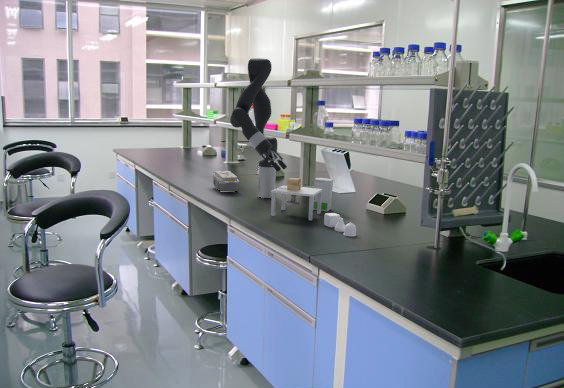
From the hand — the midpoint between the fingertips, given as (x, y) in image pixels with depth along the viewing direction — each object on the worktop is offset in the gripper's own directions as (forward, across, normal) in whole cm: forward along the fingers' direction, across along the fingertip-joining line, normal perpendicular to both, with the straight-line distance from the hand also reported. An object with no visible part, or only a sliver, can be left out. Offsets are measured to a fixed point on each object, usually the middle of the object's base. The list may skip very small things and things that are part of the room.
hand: (282, 169), depth 238 cm
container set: (+39, -19, -8) cm, 44 cm away
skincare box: (+26, +17, +4) cm, 31 cm away
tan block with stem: (+15, 0, +7) cm, 17 cm away
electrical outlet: (-20, +42, +50) cm, 68 cm away
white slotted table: (+20, 0, +9) cm, 22 cm away
